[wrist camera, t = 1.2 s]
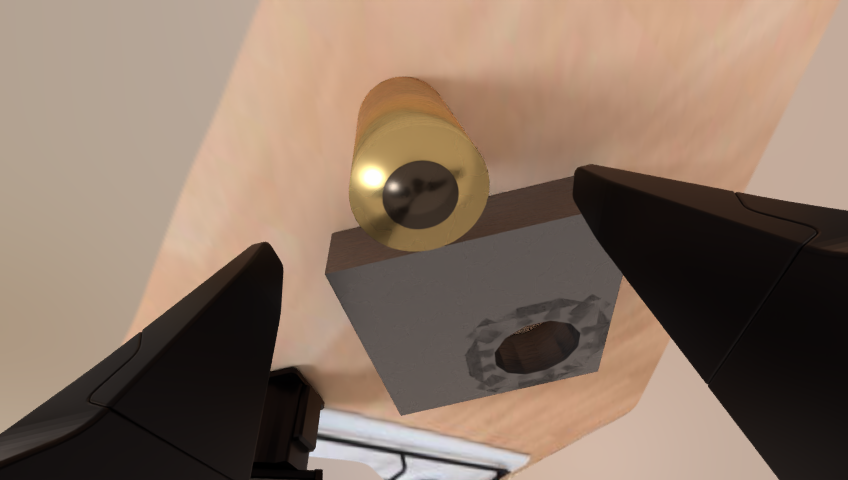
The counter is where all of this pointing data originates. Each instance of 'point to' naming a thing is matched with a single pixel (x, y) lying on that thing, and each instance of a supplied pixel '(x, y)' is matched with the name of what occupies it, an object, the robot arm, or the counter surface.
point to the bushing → (414, 169)
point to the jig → (481, 301)
